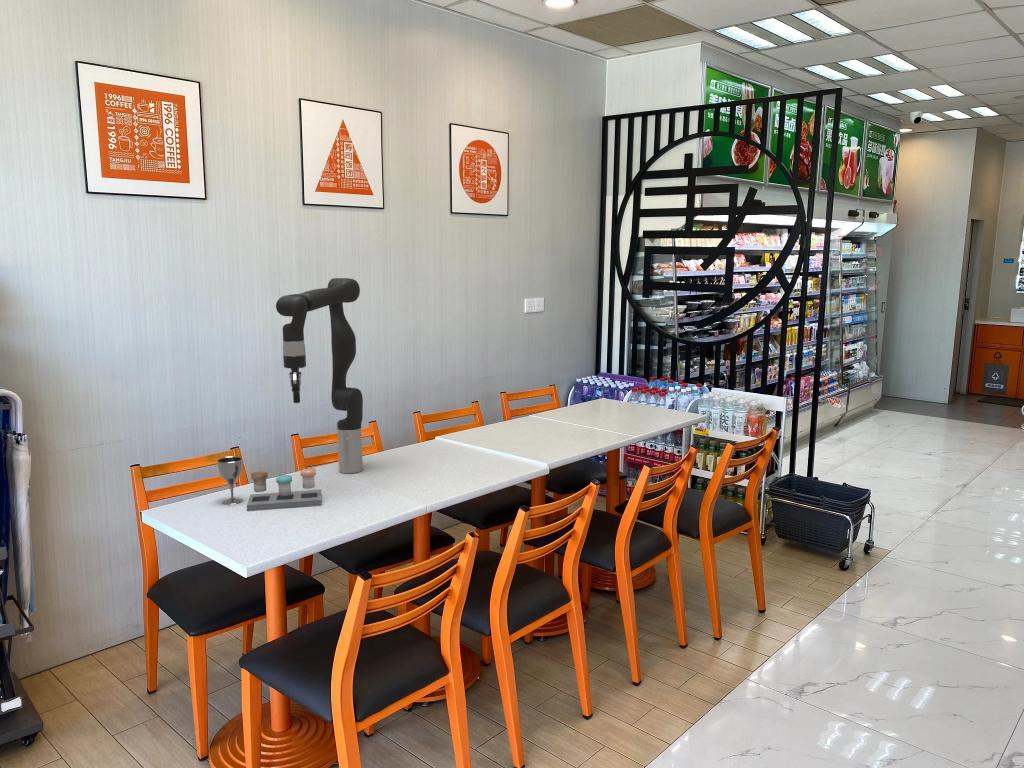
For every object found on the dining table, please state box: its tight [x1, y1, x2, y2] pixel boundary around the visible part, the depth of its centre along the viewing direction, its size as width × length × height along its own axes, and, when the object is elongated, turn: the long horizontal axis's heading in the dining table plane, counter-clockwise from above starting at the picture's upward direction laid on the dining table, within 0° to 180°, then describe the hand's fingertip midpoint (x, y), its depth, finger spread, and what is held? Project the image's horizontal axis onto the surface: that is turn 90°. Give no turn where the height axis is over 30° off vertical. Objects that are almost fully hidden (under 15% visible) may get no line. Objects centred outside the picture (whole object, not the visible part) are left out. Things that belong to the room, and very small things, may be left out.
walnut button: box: [250, 470, 268, 493], centre depth 262 cm, size 5×5×6 cm
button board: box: [246, 489, 322, 512], centre depth 265 cm, size 12×24×2 cm, turn 103°
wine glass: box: [216, 455, 244, 506], centre depth 265 cm, size 8×8×15 cm
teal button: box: [275, 474, 293, 496], centre depth 264 cm, size 5×5×6 cm
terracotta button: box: [299, 467, 317, 490], centre depth 265 cm, size 5×5×6 cm
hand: (296, 402), depth 270 cm, fingers closed
